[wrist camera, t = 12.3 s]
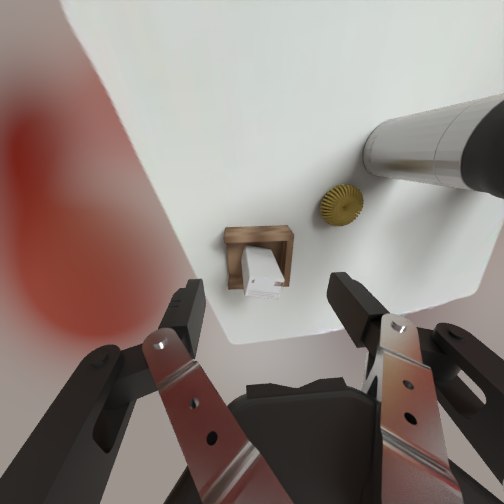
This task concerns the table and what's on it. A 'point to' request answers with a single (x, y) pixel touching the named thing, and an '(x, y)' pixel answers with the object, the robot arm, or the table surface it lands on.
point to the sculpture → (342, 205)
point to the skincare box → (261, 273)
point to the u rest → (262, 237)
